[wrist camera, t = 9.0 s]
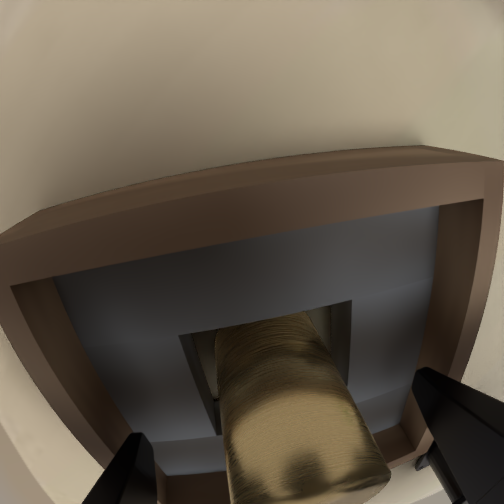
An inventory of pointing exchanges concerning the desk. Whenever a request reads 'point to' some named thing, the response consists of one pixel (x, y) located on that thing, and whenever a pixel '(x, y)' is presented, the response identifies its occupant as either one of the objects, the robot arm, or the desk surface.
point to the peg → (291, 419)
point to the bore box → (251, 292)
